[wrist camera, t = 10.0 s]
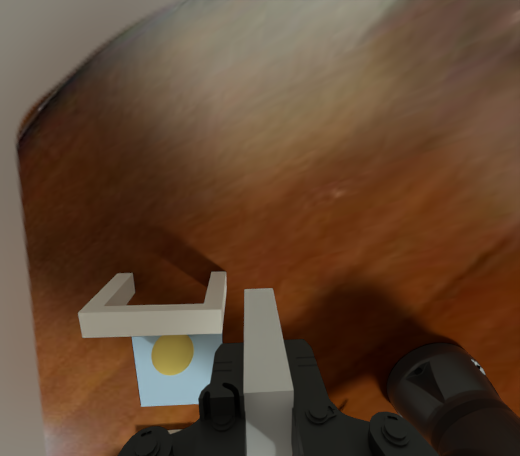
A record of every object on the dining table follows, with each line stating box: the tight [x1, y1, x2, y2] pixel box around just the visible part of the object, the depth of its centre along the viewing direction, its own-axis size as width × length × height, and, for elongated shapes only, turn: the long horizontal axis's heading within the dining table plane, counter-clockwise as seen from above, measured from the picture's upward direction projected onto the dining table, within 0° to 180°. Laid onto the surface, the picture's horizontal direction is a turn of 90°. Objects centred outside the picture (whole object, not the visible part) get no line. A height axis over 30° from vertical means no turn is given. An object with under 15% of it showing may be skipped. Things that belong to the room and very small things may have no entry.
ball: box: [151, 335, 194, 375], centre depth 37 cm, size 6×6×6 cm
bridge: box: [78, 272, 226, 338], centre depth 33 cm, size 3×15×9 cm, turn 89°
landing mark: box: [132, 334, 222, 407], centre depth 42 cm, size 13×13×1 cm
